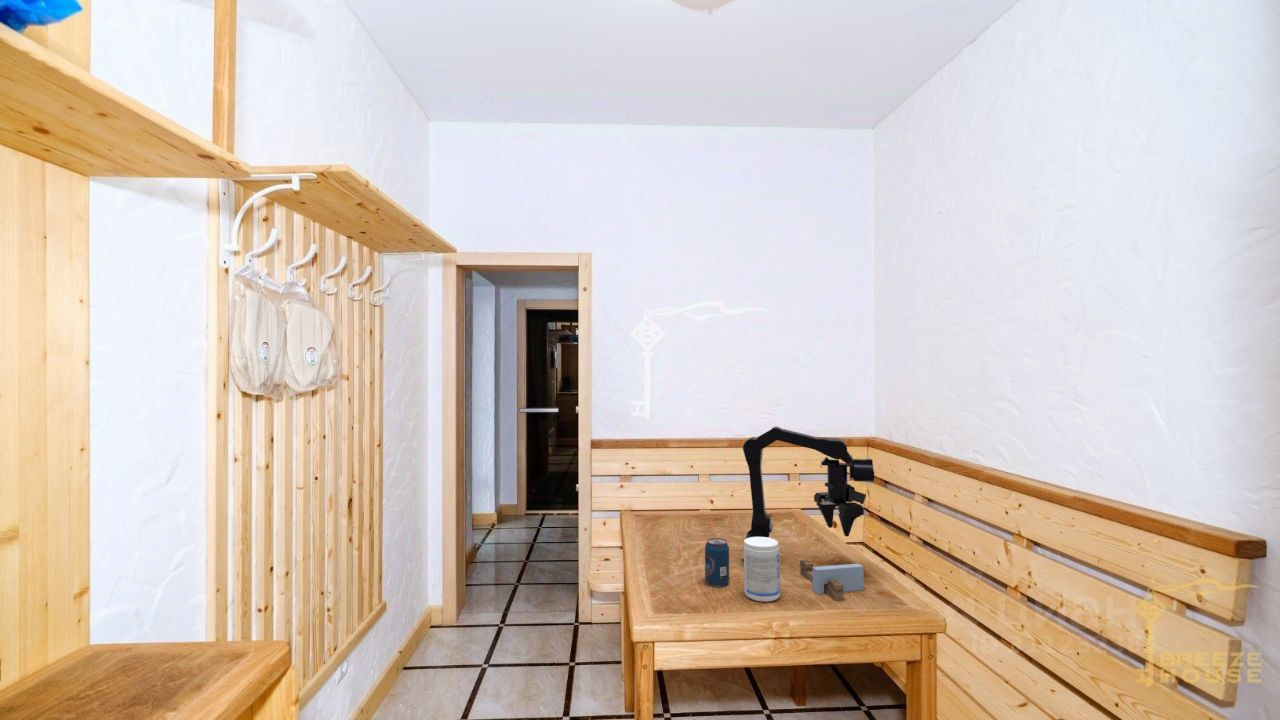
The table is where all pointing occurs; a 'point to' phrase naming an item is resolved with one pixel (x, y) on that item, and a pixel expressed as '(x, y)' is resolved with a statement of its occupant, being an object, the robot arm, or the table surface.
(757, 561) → the supplement tub
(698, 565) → the table surface
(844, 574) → the light blue slab
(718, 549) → the soda can
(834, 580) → the notched rail
